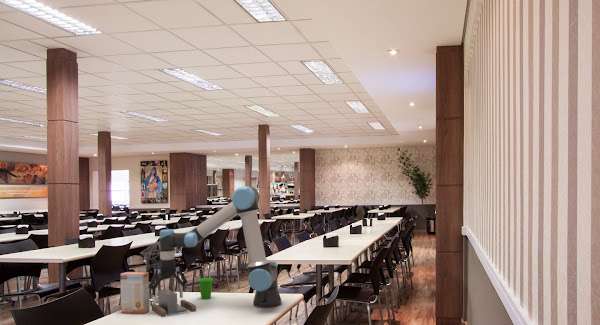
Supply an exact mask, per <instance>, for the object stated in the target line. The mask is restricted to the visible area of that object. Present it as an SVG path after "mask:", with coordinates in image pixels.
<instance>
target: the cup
mask: <svg viewBox="0 0 600 325" xmlns="http://www.w3.org/2000/svg"><path fill="white" fill-rule="evenodd" d="M197 281H198V282H197V283H198V288H199V292H200V297H201V300H204V299H205V300H210V299H211V298H212V288H213V282H214V278H211V277H210V278H209V277H205V278H203V277H202V278H199V279H197ZM205 300H204V301H205Z"/></svg>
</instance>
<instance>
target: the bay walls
mask: <svg viewBox="0 0 600 325" xmlns="http://www.w3.org/2000/svg"><path fill="white" fill-rule="evenodd" d="M157 305H158V304H156V303H154V304H153V303H152V305H151V312H154V313H155V314H157V315H158V316H160V317H162V318H163V317H166V316H167V315H166V310H164V309H163V308H161V307H159V306H157ZM180 306H182V307H184V308H186V309H187V310H189V311H190V312H192V313H193V312H197V306H196V305H195V304H194V303H192V302H189V301H187V300H185V299H182V300H181V299H180Z"/></svg>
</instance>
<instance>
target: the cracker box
mask: <svg viewBox="0 0 600 325" xmlns="http://www.w3.org/2000/svg"><path fill="white" fill-rule="evenodd" d="M149 278H150V277H149V272H148V271H147V272H146V271H126V272H122V273H120V312H121V314H137V315H138V314H140V315H144V314H146V313H149V312H150V301H149V300H150V299H149V298H150V296H149V295H150V288H149V284H150V281H149V280H150V279H149Z"/></svg>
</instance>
